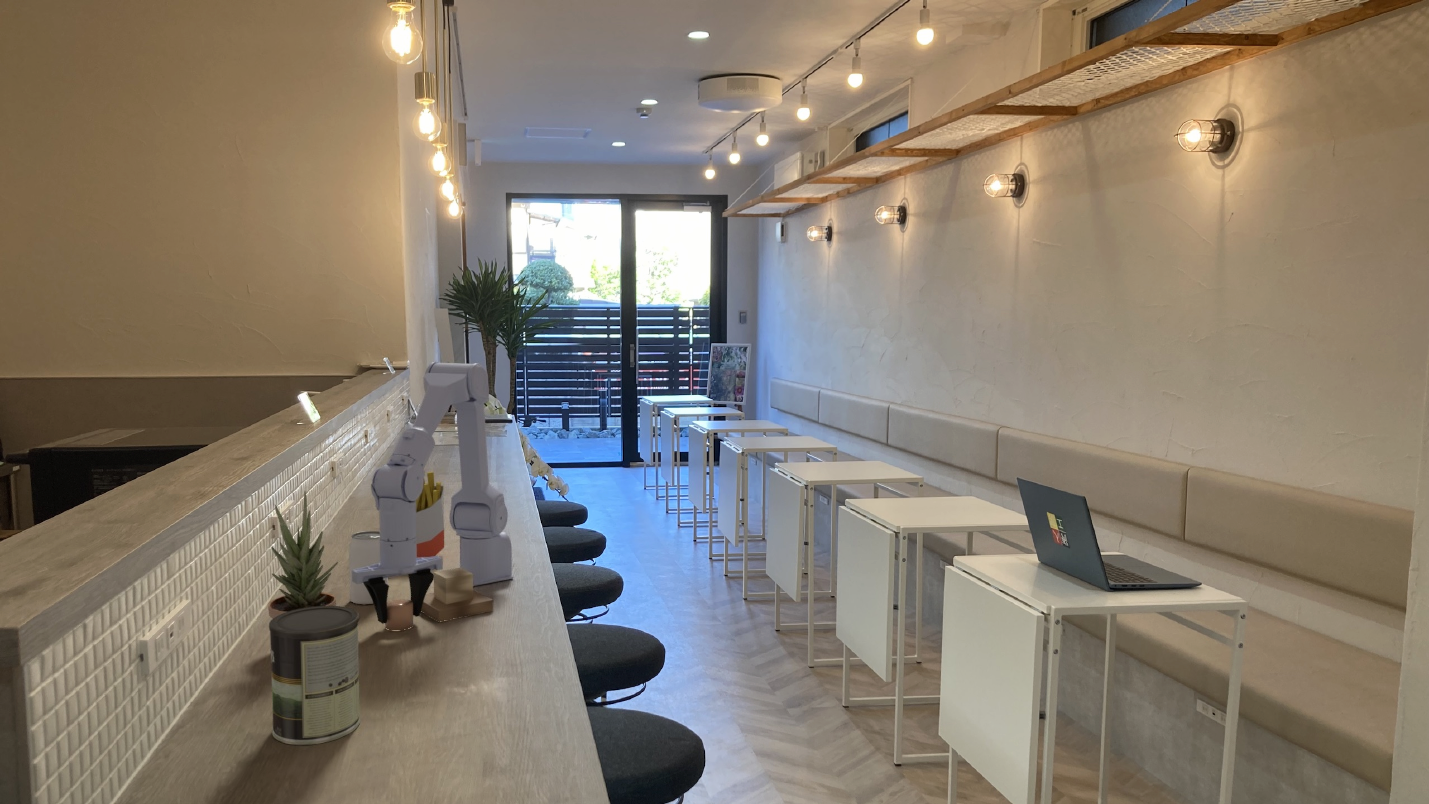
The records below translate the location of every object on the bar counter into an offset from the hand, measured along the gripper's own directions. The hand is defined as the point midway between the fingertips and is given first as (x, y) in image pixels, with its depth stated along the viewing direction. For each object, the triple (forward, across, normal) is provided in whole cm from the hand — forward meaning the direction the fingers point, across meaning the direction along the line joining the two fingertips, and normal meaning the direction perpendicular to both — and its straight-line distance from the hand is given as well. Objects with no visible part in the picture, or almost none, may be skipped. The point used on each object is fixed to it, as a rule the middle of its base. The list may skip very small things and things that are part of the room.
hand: (399, 618), depth 156 cm
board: (+1, +11, +3) cm, 11 cm away
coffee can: (+2, -23, -30) cm, 38 cm away
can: (+2, +1, +17) cm, 17 cm away
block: (-1, +11, +3) cm, 11 cm away
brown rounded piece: (+2, 0, 0) cm, 2 cm away
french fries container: (+2, +20, +39) cm, 44 cm away
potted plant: (+2, -15, 0) cm, 15 cm away
